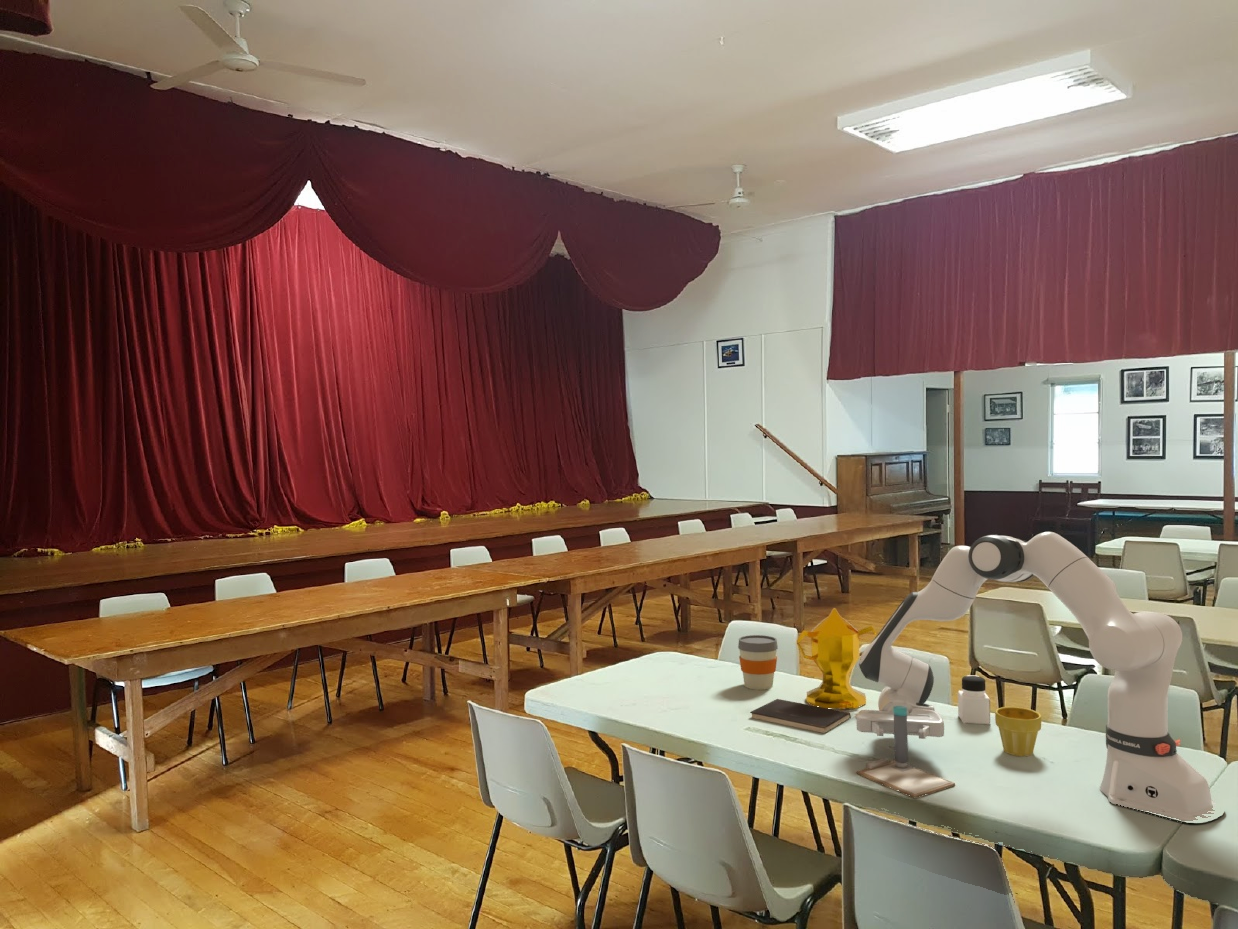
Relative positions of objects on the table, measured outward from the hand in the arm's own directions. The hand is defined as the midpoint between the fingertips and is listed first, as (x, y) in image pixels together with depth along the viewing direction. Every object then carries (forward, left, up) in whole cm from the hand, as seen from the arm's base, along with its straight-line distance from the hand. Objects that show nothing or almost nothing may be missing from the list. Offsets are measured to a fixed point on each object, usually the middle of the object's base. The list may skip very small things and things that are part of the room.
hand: (901, 734), depth 202 cm
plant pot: (-7, -34, -9) cm, 36 cm away
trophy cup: (+48, -27, -9) cm, 56 cm away
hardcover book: (+43, -7, -10) cm, 45 cm away
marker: (+1, -1, -8) cm, 8 cm away
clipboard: (-4, +3, -9) cm, 10 cm away
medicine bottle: (+15, -46, -9) cm, 49 cm away
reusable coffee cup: (+75, -19, -9) cm, 78 cm away
